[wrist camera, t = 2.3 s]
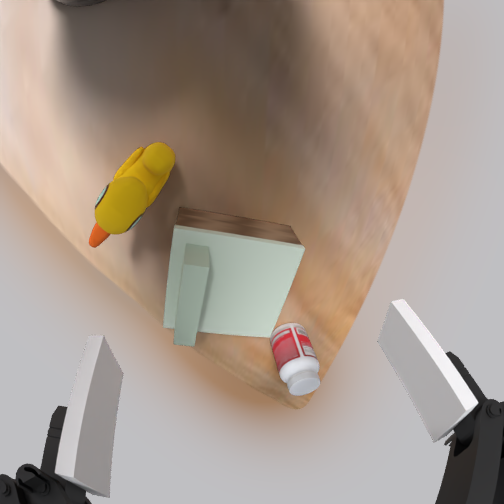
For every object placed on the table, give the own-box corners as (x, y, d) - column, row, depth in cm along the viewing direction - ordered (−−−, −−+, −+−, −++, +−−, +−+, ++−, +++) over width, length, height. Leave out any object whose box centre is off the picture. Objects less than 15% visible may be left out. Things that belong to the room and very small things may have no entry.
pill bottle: (267, 347, 48) (280, 400, 39) (271, 322, 45) (288, 377, 36) (301, 344, 49) (319, 395, 40) (308, 320, 46) (330, 372, 37)
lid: (163, 323, 35) (160, 350, 31) (174, 224, 29) (169, 247, 25) (268, 333, 39) (275, 359, 35) (303, 245, 33) (317, 268, 28)
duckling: (130, 225, 33) (108, 270, 25) (97, 199, 31) (65, 237, 22) (190, 157, 31) (184, 182, 22) (156, 126, 28) (135, 139, 20)
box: (167, 298, 40) (164, 323, 36) (179, 207, 33) (176, 224, 29) (261, 309, 43) (267, 333, 39) (290, 226, 37) (301, 245, 33)
